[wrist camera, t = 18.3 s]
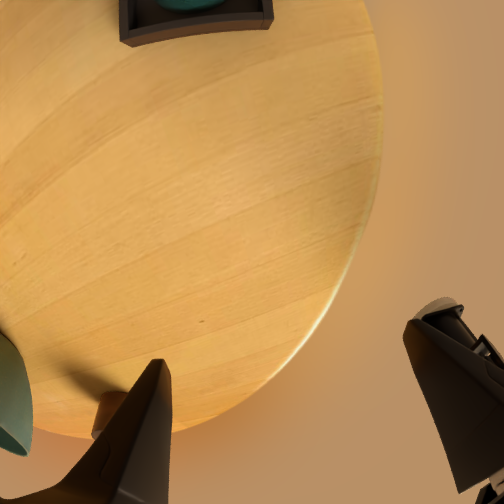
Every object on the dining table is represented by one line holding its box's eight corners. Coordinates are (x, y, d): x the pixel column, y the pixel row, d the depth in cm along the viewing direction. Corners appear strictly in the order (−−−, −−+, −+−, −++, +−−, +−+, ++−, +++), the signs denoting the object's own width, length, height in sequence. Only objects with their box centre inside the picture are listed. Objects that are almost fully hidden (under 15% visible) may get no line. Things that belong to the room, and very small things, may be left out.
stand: (141, 392, 30) (133, 433, 25) (158, 420, 34) (154, 456, 29) (92, 389, 30) (81, 426, 25) (113, 417, 34) (106, 451, 28)
